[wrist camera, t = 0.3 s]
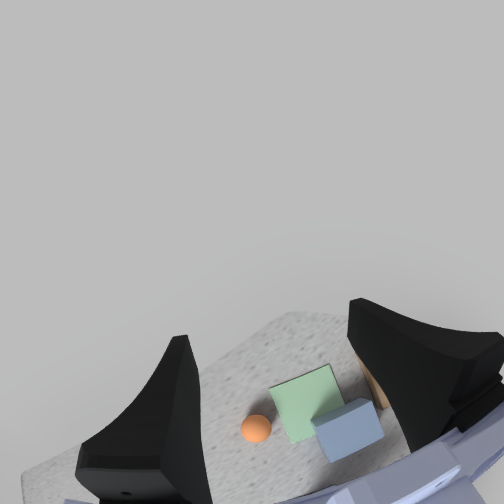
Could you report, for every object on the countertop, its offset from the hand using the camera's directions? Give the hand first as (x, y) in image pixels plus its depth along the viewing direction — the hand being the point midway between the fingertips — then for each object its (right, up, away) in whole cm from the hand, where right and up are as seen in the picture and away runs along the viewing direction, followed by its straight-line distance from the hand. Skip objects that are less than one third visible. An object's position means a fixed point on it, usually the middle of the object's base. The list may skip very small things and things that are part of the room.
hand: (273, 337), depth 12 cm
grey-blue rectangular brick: (+12, -21, +23) cm, 33 cm away
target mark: (+7, -18, +24) cm, 31 cm away
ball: (0, -19, +21) cm, 29 cm away
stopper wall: (+16, -14, +25) cm, 33 cm away
